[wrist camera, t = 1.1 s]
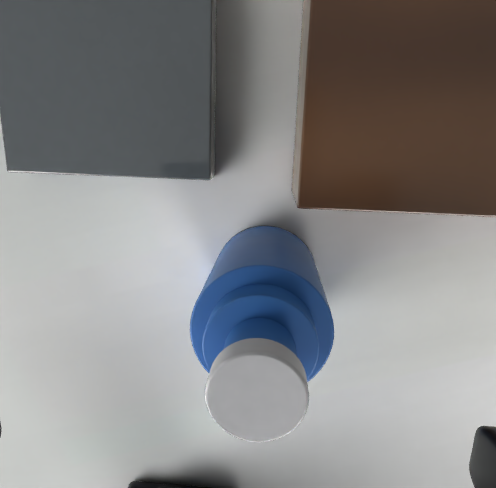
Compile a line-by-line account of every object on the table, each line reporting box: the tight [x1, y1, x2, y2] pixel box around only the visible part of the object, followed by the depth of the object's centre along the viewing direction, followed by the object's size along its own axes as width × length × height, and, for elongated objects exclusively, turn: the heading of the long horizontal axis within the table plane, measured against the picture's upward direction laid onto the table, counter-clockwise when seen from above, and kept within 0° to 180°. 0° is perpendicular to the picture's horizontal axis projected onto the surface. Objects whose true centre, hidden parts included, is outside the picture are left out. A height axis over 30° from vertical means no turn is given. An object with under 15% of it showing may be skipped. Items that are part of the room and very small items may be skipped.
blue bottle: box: [190, 226, 334, 442], centre depth 14 cm, size 5×5×9 cm
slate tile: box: [0, 0, 217, 180], centre depth 16 cm, size 9×9×1 cm
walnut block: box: [292, 0, 496, 217], centre depth 14 cm, size 10×10×4 cm
